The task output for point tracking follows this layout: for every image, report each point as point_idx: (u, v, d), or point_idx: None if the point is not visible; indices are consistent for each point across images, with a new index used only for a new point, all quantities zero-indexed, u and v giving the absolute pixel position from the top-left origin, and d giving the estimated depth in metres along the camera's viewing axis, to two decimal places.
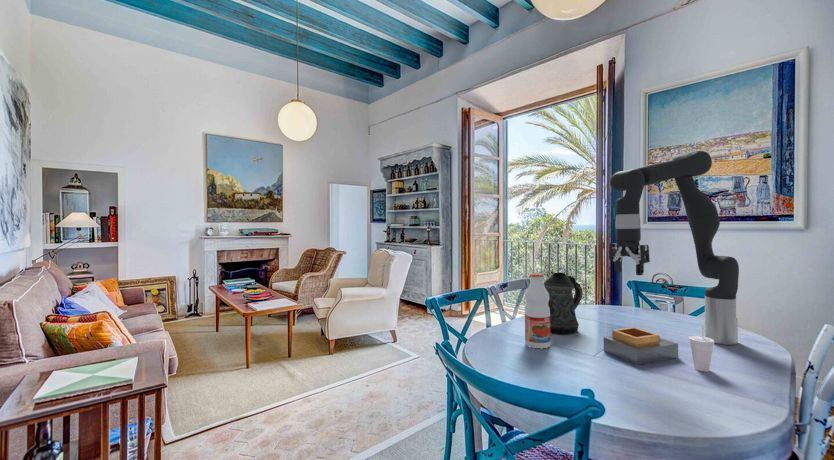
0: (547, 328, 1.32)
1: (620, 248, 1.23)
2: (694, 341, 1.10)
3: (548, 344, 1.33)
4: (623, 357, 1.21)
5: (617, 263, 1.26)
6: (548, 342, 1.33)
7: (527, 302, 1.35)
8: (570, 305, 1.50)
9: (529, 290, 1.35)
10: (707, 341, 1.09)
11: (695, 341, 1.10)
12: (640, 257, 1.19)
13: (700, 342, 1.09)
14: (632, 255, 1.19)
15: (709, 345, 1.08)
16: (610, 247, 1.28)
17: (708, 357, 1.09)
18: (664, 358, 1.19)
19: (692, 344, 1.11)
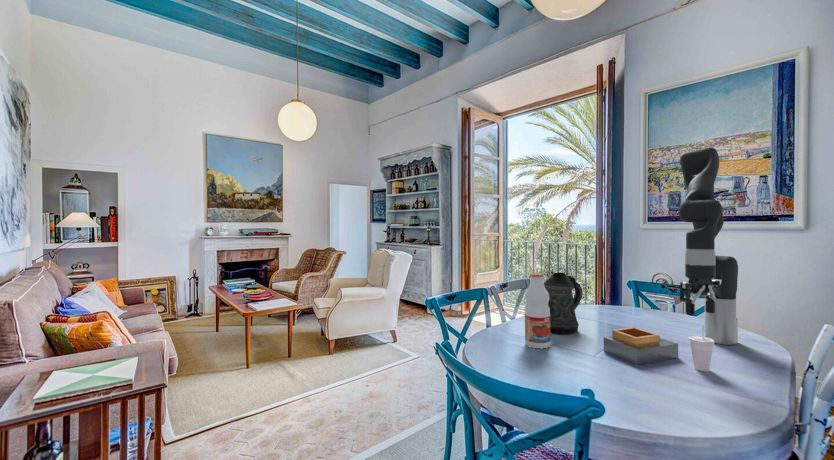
0: (547, 328, 1.32)
1: (703, 287, 1.09)
2: (694, 341, 1.10)
3: (548, 344, 1.33)
4: (623, 357, 1.21)
5: None
6: (548, 342, 1.33)
7: (527, 302, 1.35)
8: (570, 305, 1.50)
9: (529, 290, 1.35)
10: (707, 341, 1.09)
11: (695, 341, 1.10)
12: None
13: (700, 342, 1.09)
14: (713, 293, 1.10)
15: (709, 345, 1.08)
16: (689, 288, 1.08)
17: (708, 357, 1.09)
18: (664, 358, 1.19)
19: (692, 344, 1.11)
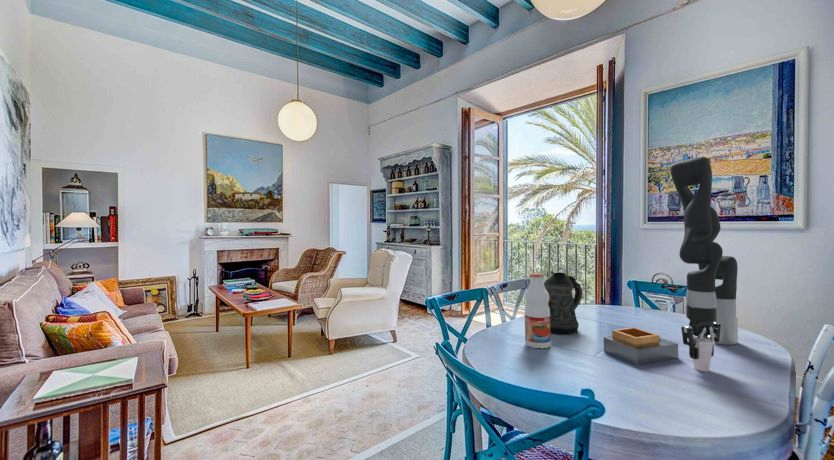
0: (547, 328, 1.32)
1: (704, 329, 1.09)
2: (694, 341, 1.10)
3: (548, 344, 1.33)
4: (623, 357, 1.21)
5: None
6: (548, 342, 1.33)
7: (527, 302, 1.35)
8: (570, 305, 1.50)
9: (529, 290, 1.35)
10: (707, 341, 1.09)
11: None
12: None
13: (700, 342, 1.09)
14: (713, 336, 1.10)
15: (709, 345, 1.08)
16: (690, 332, 1.08)
17: (708, 357, 1.09)
18: (664, 358, 1.19)
19: None
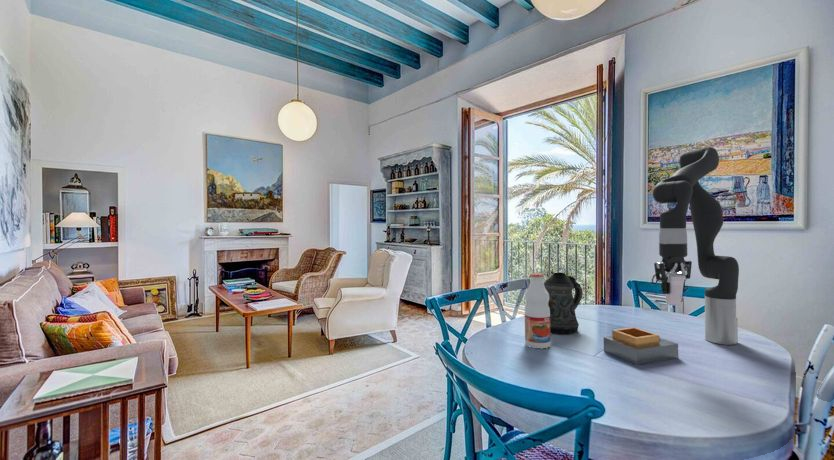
0: (547, 328, 1.32)
1: (676, 265, 1.13)
2: (666, 277, 1.15)
3: (548, 344, 1.33)
4: (623, 357, 1.21)
5: None
6: (548, 342, 1.33)
7: (527, 302, 1.35)
8: (570, 305, 1.50)
9: (529, 290, 1.35)
10: (678, 276, 1.13)
11: None
12: (678, 273, 1.17)
13: (672, 277, 1.13)
14: (684, 271, 1.15)
15: (680, 279, 1.13)
16: (662, 267, 1.13)
17: (679, 291, 1.13)
18: (664, 358, 1.19)
19: None
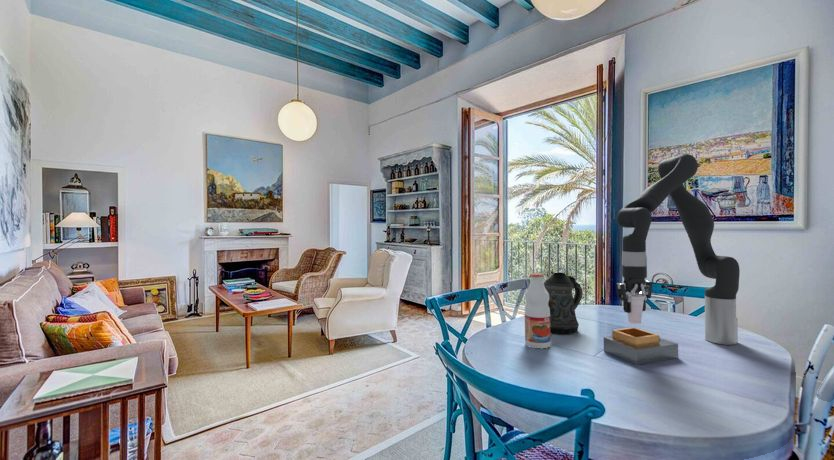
0: (547, 328, 1.32)
1: (636, 286, 1.22)
2: (627, 297, 1.23)
3: (548, 344, 1.33)
4: (623, 357, 1.21)
5: None
6: (548, 342, 1.33)
7: (527, 302, 1.35)
8: (570, 305, 1.50)
9: (529, 290, 1.35)
10: (638, 296, 1.22)
11: None
12: None
13: (632, 297, 1.22)
14: (644, 292, 1.23)
15: (639, 299, 1.21)
16: (623, 288, 1.21)
17: (639, 310, 1.22)
18: (664, 358, 1.19)
19: None
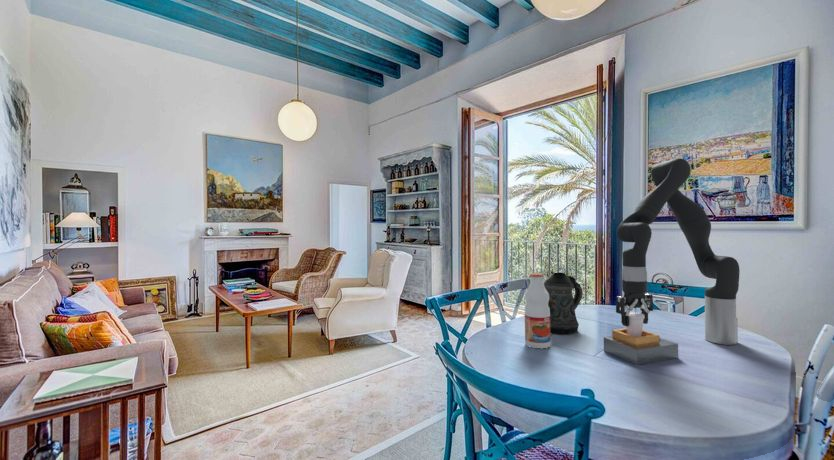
0: (547, 328, 1.32)
1: (636, 301, 1.22)
2: None
3: (548, 344, 1.33)
4: (623, 357, 1.21)
5: None
6: (548, 342, 1.33)
7: (527, 302, 1.35)
8: (570, 305, 1.50)
9: (529, 290, 1.35)
10: (638, 315, 1.22)
11: None
12: None
13: (632, 316, 1.22)
14: (645, 305, 1.23)
15: (639, 319, 1.21)
16: (623, 301, 1.21)
17: (638, 330, 1.22)
18: (664, 358, 1.19)
19: None
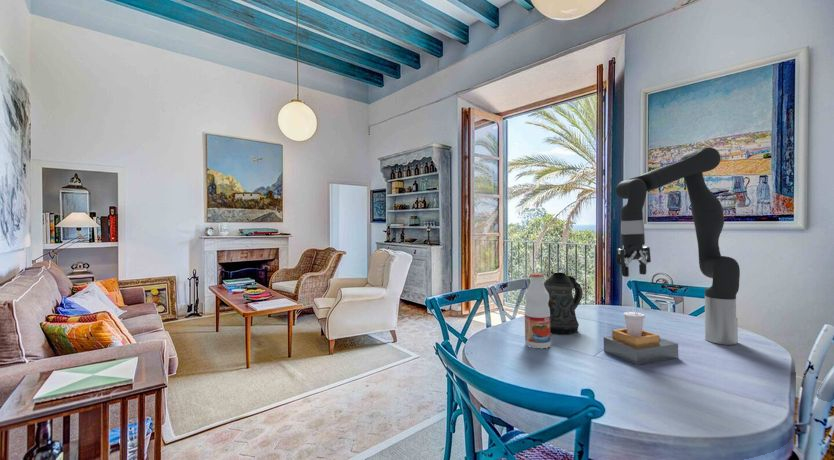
0: (547, 328, 1.32)
1: (635, 252, 1.30)
2: (627, 316, 1.23)
3: (548, 344, 1.33)
4: (623, 357, 1.21)
5: None
6: (548, 342, 1.33)
7: (527, 302, 1.35)
8: (570, 305, 1.50)
9: (529, 290, 1.35)
10: (638, 315, 1.22)
11: (628, 316, 1.23)
12: None
13: (632, 316, 1.22)
14: (643, 257, 1.32)
15: (639, 319, 1.21)
16: (623, 253, 1.29)
17: (638, 330, 1.22)
18: (664, 358, 1.19)
19: (626, 319, 1.24)
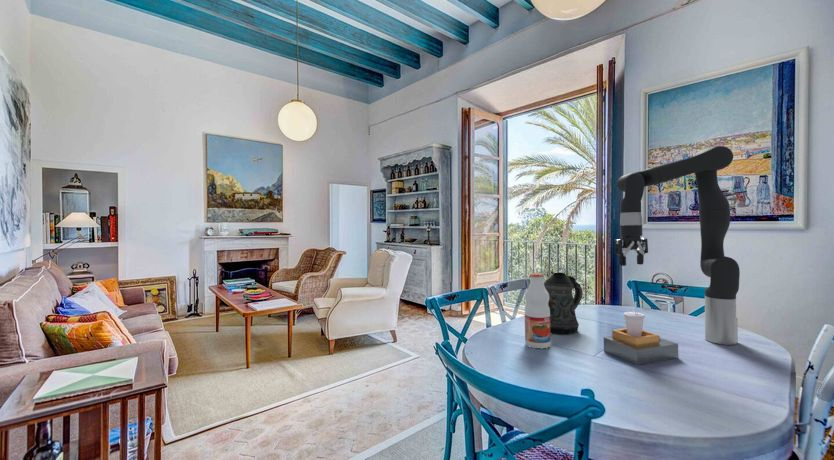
0: (547, 328, 1.32)
1: (632, 243, 1.36)
2: (627, 316, 1.23)
3: (548, 344, 1.33)
4: (623, 357, 1.21)
5: None
6: (548, 342, 1.33)
7: (527, 302, 1.35)
8: (570, 305, 1.50)
9: (529, 290, 1.35)
10: (638, 315, 1.22)
11: (628, 316, 1.23)
12: None
13: (632, 316, 1.22)
14: (641, 248, 1.38)
15: (639, 319, 1.21)
16: (620, 243, 1.36)
17: (638, 330, 1.22)
18: (664, 358, 1.19)
19: (626, 319, 1.24)
